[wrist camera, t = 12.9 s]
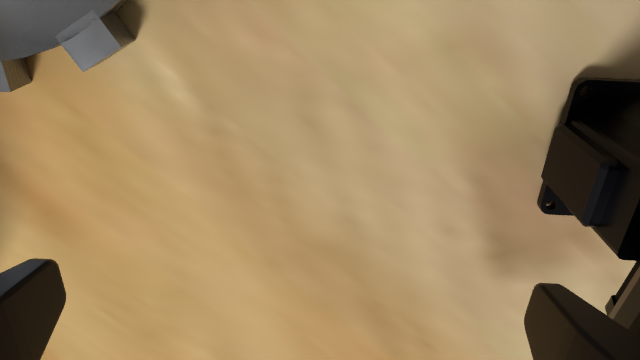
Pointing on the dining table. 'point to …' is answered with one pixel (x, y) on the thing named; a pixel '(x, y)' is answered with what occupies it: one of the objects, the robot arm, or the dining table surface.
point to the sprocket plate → (57, 34)
